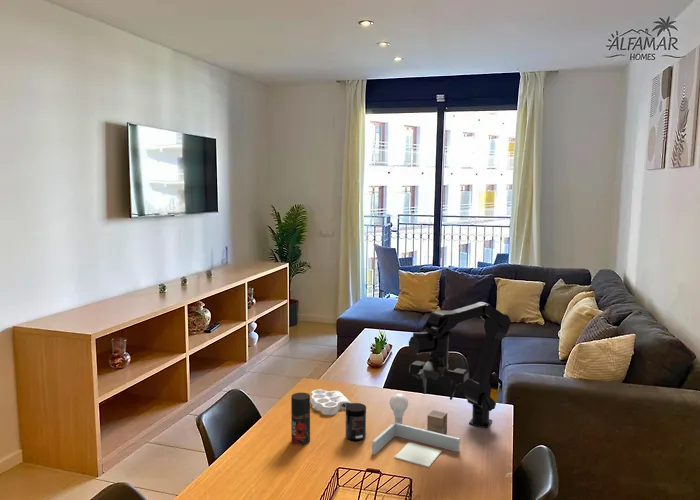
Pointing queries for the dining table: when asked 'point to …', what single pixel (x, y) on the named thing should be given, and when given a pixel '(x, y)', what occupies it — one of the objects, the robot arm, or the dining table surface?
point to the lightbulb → (398, 406)
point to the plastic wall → (415, 437)
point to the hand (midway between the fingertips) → (437, 396)
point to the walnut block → (437, 422)
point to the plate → (418, 454)
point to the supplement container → (355, 422)
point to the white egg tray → (328, 401)
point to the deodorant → (300, 418)
